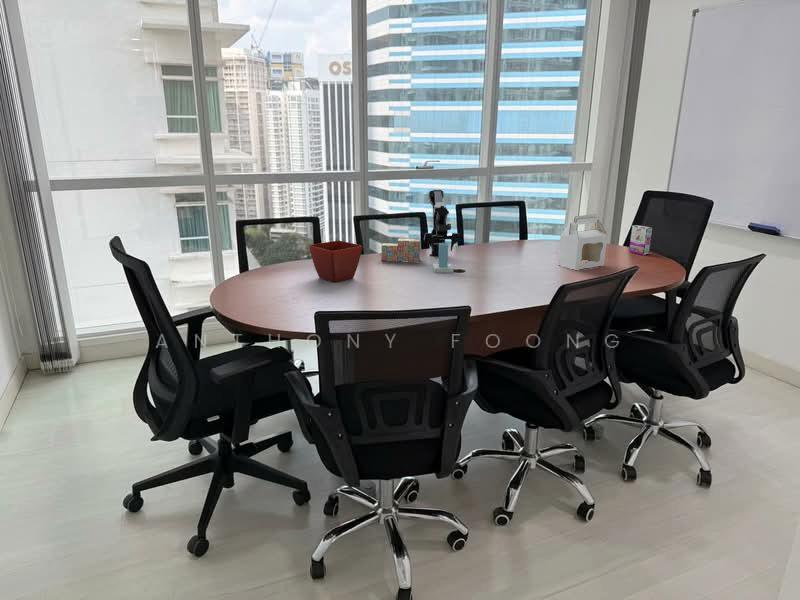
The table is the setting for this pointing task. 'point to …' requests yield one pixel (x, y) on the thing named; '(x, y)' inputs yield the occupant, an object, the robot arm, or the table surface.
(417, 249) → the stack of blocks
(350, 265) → the plant pot
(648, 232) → the candy bar box
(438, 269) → the base tile
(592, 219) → the gable box
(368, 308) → the table surface
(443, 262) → the teal pillar
